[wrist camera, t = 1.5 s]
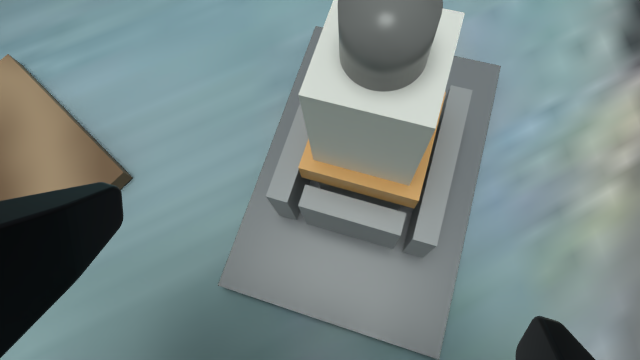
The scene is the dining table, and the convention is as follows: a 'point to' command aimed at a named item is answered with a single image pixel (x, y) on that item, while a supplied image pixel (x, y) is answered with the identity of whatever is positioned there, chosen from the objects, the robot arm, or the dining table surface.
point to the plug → (377, 97)
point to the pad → (45, 141)
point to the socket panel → (366, 227)
